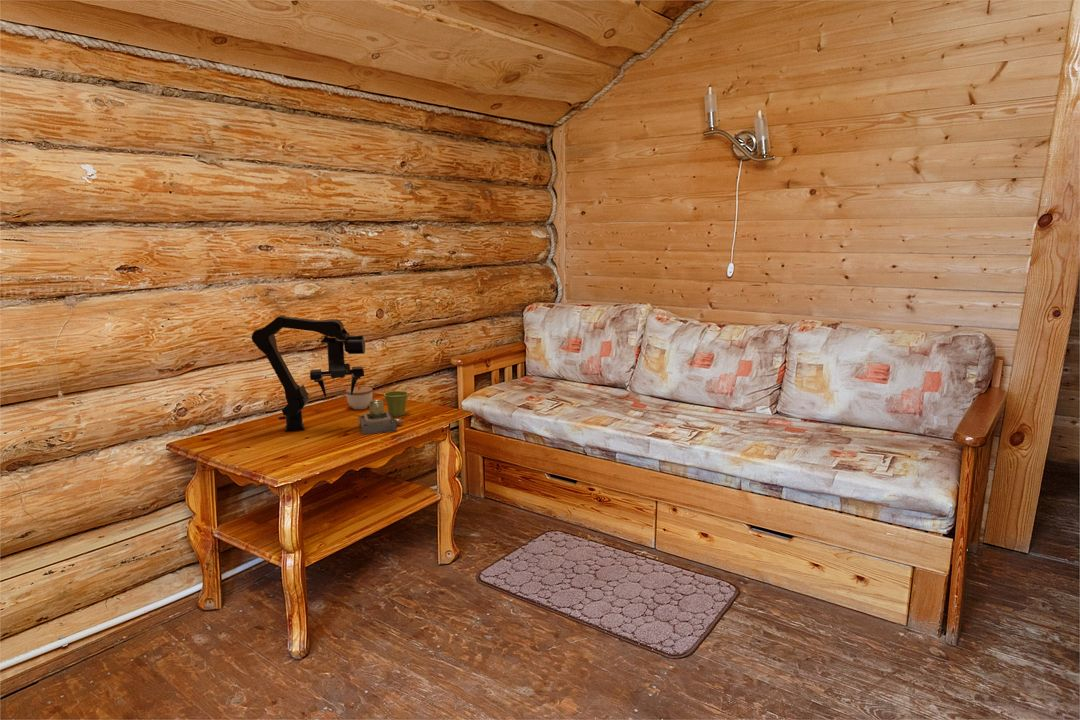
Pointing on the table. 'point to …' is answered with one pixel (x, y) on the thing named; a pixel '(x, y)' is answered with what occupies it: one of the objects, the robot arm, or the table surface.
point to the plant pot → (396, 402)
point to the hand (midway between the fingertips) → (338, 395)
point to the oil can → (376, 409)
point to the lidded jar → (359, 397)
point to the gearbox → (378, 423)
